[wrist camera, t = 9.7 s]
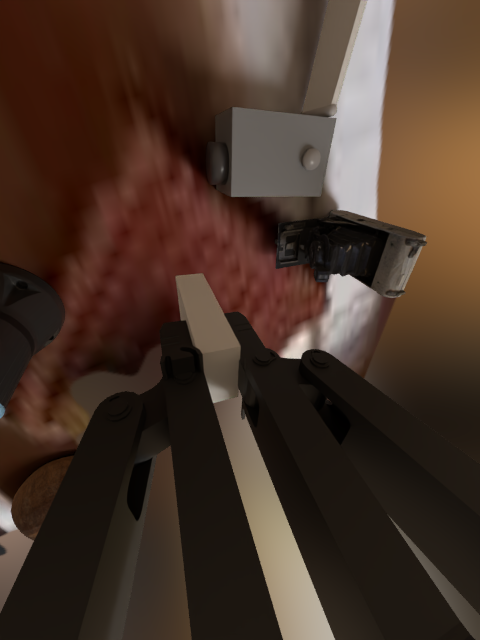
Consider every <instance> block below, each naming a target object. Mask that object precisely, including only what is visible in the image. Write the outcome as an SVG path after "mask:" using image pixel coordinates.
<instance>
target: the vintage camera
mask: <svg viewBox="0 0 480 640" xmlns="http://www.w3.org/2000/svg"><path fill="white" fill-rule="evenodd" d="M425 239H426V236H425V235H423V234H420V233H417V232H415V231H412V230H408V229H405V228H401V227H398V226H395V225H391V224H388V223H384V222H381V221H378V220H375V219H371V218H368V217H365V216H361V215H358V214H355V213H351V212H348V211H342V210H335V211H331V212H330V216H329V217H327V218H323V219H309V220H301V221H293V222H285V223H279V226H278V240H276V239H275V244H277V256H276V269H278V268H284V267H290V266H295V265H301V264H307V263H310V267H311V268H312V269H315V271H314V278H315V281H316V282H327V281H328V279H329V275H331V274H338V273H339V274H340V275H341V276H345V275H351V276H352V277H354V278H355V279H357V280H358V281H360V282H362V283H363V284H365V285H366V286H368V287H369V288H371V289H373V290H374V291H376V292H377V293H378V294H380V295H382V296H384V297H391V298H393V297H399V296H401V295H403V294H405V292H404V291H403V290H404V288H405V285H406V283H407V281H408V279H409V277H410V274H411V272H412V270H413V268H414V265H415V263H416V260H417V258H418V256H419V253H420V251H421V249H422V246H425V245H426V244H427V242H425Z"/></svg>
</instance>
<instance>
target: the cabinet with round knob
mask: <svg viewBox="0 0 480 640" xmlns="http://www.w3.org/2000/svg"><path fill="white" fill-rule="evenodd" d="M335 123H336V118H329V117H320V116H311V115H302V114H293V113H284V112H275V111H266V110H257V109H248V108H239V107H231V108H229V109H227V110H225V111H223V112H222V113H220V114H218V115H216V116H215V136H216V142H208V144H207V148H206V172H207V178H208V182H209V184H210V185H216V190H218V191H220V192H222V193H224V194H226V195H228V196H231V197H321V192H322V187H323V182H324V177H325V172H326V167H327V162H328V158H329V153H330V148H331V143H332V138H333V133H334V128H335Z"/></svg>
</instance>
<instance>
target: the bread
mask: <svg viewBox="0 0 480 640" xmlns="http://www.w3.org/2000/svg"><path fill="white" fill-rule="evenodd" d="M72 459H73V456H69V457H63V458H60V459H57V460H54V461H51V462H49V463H47V464H45V465H43V466H42V467H40V468H39V469H38V470H36V471H35V472H34V473H33V474H32V475H31V476H29V477H28V478H27V479H26V481H25V482H24V483H23V484H22V485H21V487H20V488H19V489H18V491H17V492H16V494H15V496H14V499H13V503H12V508H11V514H12V518H13V521H14V524H15V525H16V527H17V528H18V529H19V530H20V532H21V533H23V534H24V535H25V536H26V537H28V538H30V539H32V540H35V538H36V536H37V534H38V532H39V529H40V527H41V525H42V523H43V521H44V519H45V517H46V514H47V512H48V510H49V508H50V506H51V504H52V501H53V499H54V497H55V495H56V493H57V491H58V489H59V486H60V484H61V482H62V480H63V478H64V476H65V474H66V471H67V469H68V467H69V465H70V463H71V461H72Z"/></svg>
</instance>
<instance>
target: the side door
mask: <svg viewBox="0 0 480 640" xmlns="http://www.w3.org/2000/svg"><path fill="white" fill-rule="evenodd" d="M366 3H367V0H329V1H328V5H327V9H326V14H325V18H324V22H323V26H322V30H321V35H320V39H319V43H318V47H317V51H316V56H315V60H314V64H313V68H312V72H311V77H310V81H309V85H308V89H307V93H306V98H305V102H304V106H303V110H302V113H301V114H302V115H311V116H320V117H331V116H334V115H335V114H336V112H337V106H336V105H337V102H338V99H339V95H340V92H341V88H342V85H343V82H344V78H345V75H346V71H347V68H348V64H349V61H350V58H351V54H352V51H353V47H354V44H355V40H356V37H357V34H358V30H359V27H360V23H361V20H362V17H363V13H364V10H365V6H366Z"/></svg>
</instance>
